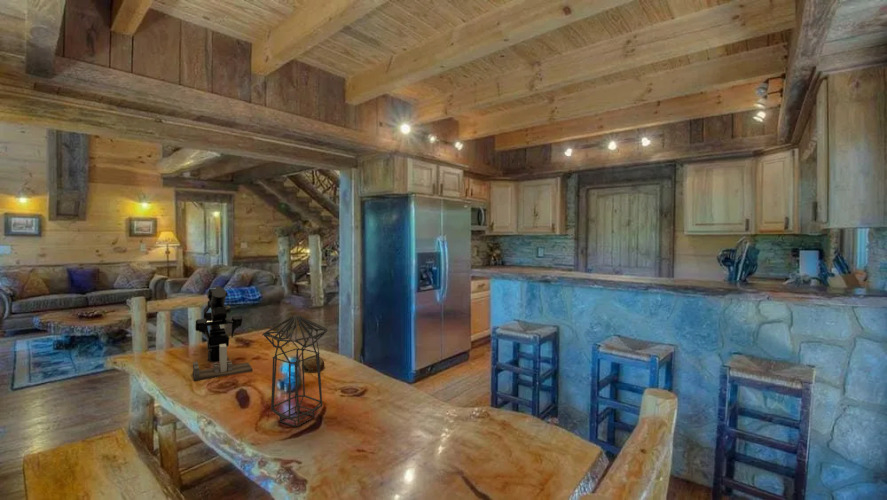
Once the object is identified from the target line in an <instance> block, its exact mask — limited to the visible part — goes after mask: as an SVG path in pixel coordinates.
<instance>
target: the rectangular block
mask: <svg viewBox="0 0 887 500" xmlns="http://www.w3.org/2000/svg"><path fill="white" fill-rule="evenodd" d="M229 357H230V356H228V347H227V346H226V344H219V361H218V362H219V363H218V365H219V369H220V372H225V371H227V361H229V360H230V358H229Z"/></svg>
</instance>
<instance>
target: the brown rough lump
mask: <svg viewBox="0 0 887 500" xmlns="http://www.w3.org/2000/svg"><path fill="white" fill-rule="evenodd" d="M312 356H313V355H309V356H308V357H305V358H304V359H306V358H309V357H312ZM319 358H320V372H321V371H323V370H324V368H325V361H324V358H322V357H321V356H319ZM304 373H317V363H316V356H315V357H312V358H309V359H306V360H304Z"/></svg>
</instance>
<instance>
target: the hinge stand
mask: <svg viewBox="0 0 887 500" xmlns="http://www.w3.org/2000/svg"><path fill="white" fill-rule="evenodd" d="M218 362H219V361H217V362H212V363H213V366H212V368H205V369H200V367H199V363H198V361H193V362H192V376H193V381H194V382H197V381H203V380H208V379H215V377H216V378H221V377H220V376H222V377H226V375H228V376H232V374H233V375H239V374H242V373H243V374H245V373H251V372H253V368H252V366H251V364H250V363H249V362H243V363H236V364H233V362H232V360H230V359H229V360H227V371H225V372H220V369H219V363H218ZM244 372H245V373H244ZM238 373H239V374H238Z"/></svg>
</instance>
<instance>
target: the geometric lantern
mask: <svg viewBox="0 0 887 500" xmlns="http://www.w3.org/2000/svg"><path fill="white" fill-rule="evenodd" d="M284 324H285V325H284ZM282 325H284V326H283V327H282V328H281V329H280V330H275V329H277V328H279V327H280V326H282ZM298 326H299V329H300V332H301V335H302V337H300V338H297V333H298V332H297V331H298V329H297V328H298ZM273 330H275V331H273ZM294 330H295V331H294ZM303 330H304V331H305V332H306V334H307V335H308V336H307V337H306V336H305V333H304V331H303ZM289 331H290V333H289ZM313 331H315V332H316V333H315V335H313ZM319 331H320V332H319ZM321 331H322V332H321ZM328 331H329V329H328V328H326V327H325V326H322V325H320V324H318V323H316V322H313V321H312V320H309V319H307V318H305V317H303V316H301V315H299V314H298V315H297V314H296V315H295V314H294V315H292V316H290V317H288V318H286V319H285V320H283V321H282V322H279V323H278V324H276V325H275V326H273V327H272V328H270V329H267V331H265V332H262V334H261V336H264V338H265V339H266V340H267V341H268V342H269V343H270V344H271V345H272V347H273V348H275V349H276V350H275V352H274V353H275V354H274V356H273V357H272V370H271V371H272V373H271V374H272V375H271V399H270V400H271V401H270V403H271V405H270V406H271V407H270V411H271V412H273V413H274V414H276V415H277V416H278V417H279V422H280V423H282V424H285V425H287V426H291V427H294V428H296V426H297V427H300V426H302V425H304V424H305V423H307V422H308V420H309V421H311V420H313V419H315V412H317V410H318V409H320V408H322V407H323V396H322V394H323V393H322V379H321V376H322V375H321V371H320V358H321V357H320V350H319V349H320V348H319V344H318V340H320V339H321V338H322V337H323V336H324V335H326V333H327V332H328ZM294 332H295V337H294V338H295V340H293V339H292V337H293V334H294ZM288 333H289V334H288ZM273 334H275V335H273ZM285 334H286V337H283V336H284V335H285ZM270 338H271V339H270ZM310 339H311V340H312V341H311V342H312V343H309V344H308V345H307V343H308V341H309V340H310ZM274 340H276V342H277V343H276V344H277V345H276V344H275V341H274ZM300 341H304V344H303V343H302V342H300ZM280 342H285V343H283V344H282V345H281V346H280ZM290 342H292V343H293V345H294V346H295V347H296V348H293V349H290V350H287V351H284V349H283V347H284V346H286V345H288V344H289V343H290ZM296 343H297V344H298V345H300V346H301V348H299V347H298V345H297V344H296ZM315 343H316V346H315ZM311 346H312V348H313V350H310V349H307V348H309V347H311ZM316 347H317V349H316ZM278 349H279V350H280V351H281V352H280V353H278ZM293 351H296V358H295V359H296V360H295V361H291V360H290V359H289V358H288V356H287V354H286V353H289V352H293ZM299 351H301V353H300V354H299ZM305 351H307V352H311V353H314V354H315V355H311V356H312V357H315V356H316V363H317V372H316V373H317V383H318V393H319V399H317V398H314V397H311V396H309V395H306V388H305V387H306V385H305V372H304V360H306V359H309V358H312V357H309V356H308V357H309V358H307V357H305V358H306V359H305V358H304V352H305ZM281 355H284V357H285V359H286V360H287V361H286V360H284V359H280V358H278V356H281ZM300 357H301V360H299V359H300ZM319 357H320V358H319ZM278 361H280V362H284V363H286V364H288V399H285V400H283V401H281V402H279V403H276V404H275V394H276V392H275V391H276V379H277V377H276V376H277V363H278ZM300 362H301V370H302V392H303V394H299V385H298V382H299V381H298V371H299V369H298V368H299V366H298V364H299V363H300ZM291 364H292V365H294V375H295V378H294V379H295V391H294V396H292V395H291V390H292V389H291V387H292V386H291V385H292V384H291V378H292V376H291V374H292V373H291V372H292V370H291V369H292V367H291ZM291 396H292V397H291ZM301 397H302V398H301ZM299 398H301V400H300V401H299ZM304 398H306V399H309V400H312V401H315V402H318V404H317V405H316V406H315V407H314V408H310V407H305V406H303V405H302V406H301V404H302V402H303V399H304ZM293 399H294V400H295V401H294V403H295V406H292V407H291V400H293ZM286 402H288V409H287V410H285V411H284V412H283V413H282V412H279V411H278V410H277V409H276V408H275V407H277V406H280V405H282V404H284V403H286ZM302 408H303V409H306V410H307V411H305V412H304V411H301V409H302ZM293 409H294V412H291V411H292V410H293ZM285 413H286V414H287V413H288V415H285ZM300 413H301V414H300ZM294 414H297V415H295V416H293V415H294ZM308 416H310V417H311V418H308V419H307V420H305V421H303V422H301V423H300V421H301V420H302V419H304V418H306V417H308ZM312 418H313V419H312ZM286 419H287V420H289V421H292V422H294V424H292V423H288V422H286V421H283V420H286ZM310 419H311V420H310ZM306 421H307V422H306ZM303 423H304V424H303ZM301 424H302V425H301Z"/></svg>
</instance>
